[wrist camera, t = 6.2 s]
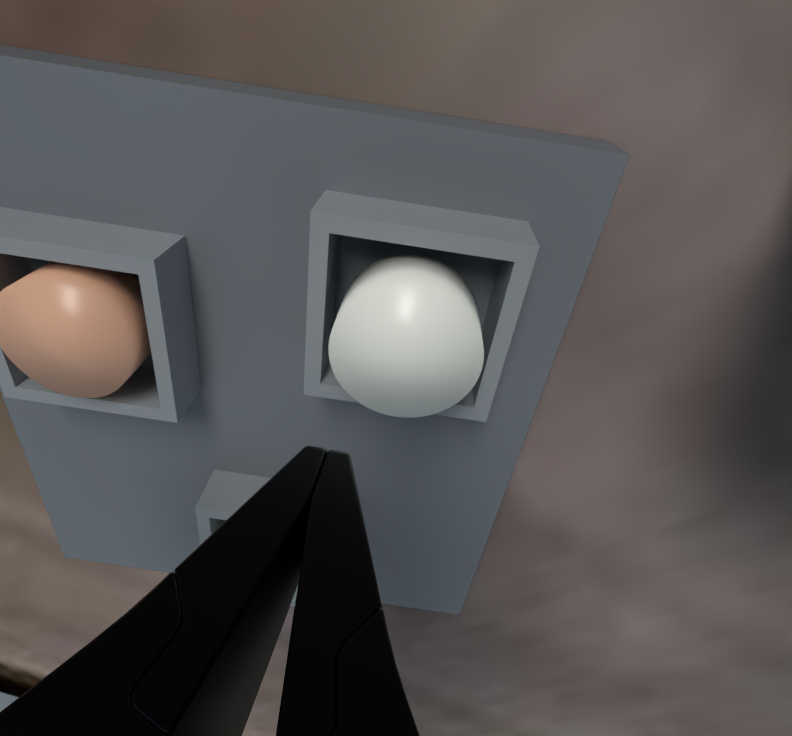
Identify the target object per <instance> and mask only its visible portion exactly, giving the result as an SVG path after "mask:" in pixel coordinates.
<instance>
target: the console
mask: <svg viewBox="0 0 792 736" xmlns="http://www.w3.org/2000/svg"><path fill="white" fill-rule="evenodd" d="M629 156H630V155H629V154H628V153H626V152H625V151H623V150H622V149H620V148H618V147H617V146H615V145H614V144H612V143H611V142H609V141H604V140H598V139H592V138H585V137H579V136H573V135H566V134H560V133H554V132H547V131H541V130H535V129H529V128H522V127H516V126H510V125H503V124H497V123H491V122H484V121H478V120H472V119H465V118H459V117H453V116H447V115H440V114H434V113H428V112H421V111H415V110H409V109H402V108H396V107H390V106H383V105H377V104H371V103H364V102H358V101H352V100H346V99H339V98H333V97H327V96H320V95H314V94H308V93H301V92H295V91H289V90H282V89H276V88H270V87H264V86H257V85H251V84H245V83H238V82H232V81H226V80H219V79H213V78H207V77H200V76H194V75H188V74H182V73H175V72H169V71H163V70H156V69H150V68H144V67H137V66H131V65H125V64H118V63H112V62H106V61H100V60H93V59H87V58H81V57H74V56H68V55H62V54H55V53H49V52H43V51H36V50H30V49H24V48H17V47H11V46H5V45H0V292H1V291H2V290H3V289H4V288H6V287H7V286H9V285H11V284H13V283H14V282H16V281H18V280H19V279H21V278H23V277H25V276H26V275H28V274H30V273H31V272H33V271H35V270H37V269H38V268H40V267H42V266H43V265H45V264H47V263H49V262H50V261H54V262H60V263H67V264H73V265H80V266H86V267H93V268H99V269H106V270H112V271H119V272H125V273H129V274H131V275H132V276H133V277H134V278H135V279H136V280H137V281H138V282H139V283H140V287H141V293H142V299H143V305H144V311H145V317H146V323H147V329H148V335H149V341H150V347H151V354H150V355H149V356H148V357H147V359H146V360H145V361H144V362H143V363H142V364H141V365H140V366H139V367H138V368H137V370H136V371H135V372H134V373H133V374H132V375H131V376H130V377H129V378H128V380H127V381H126V382H125V383H124V384H123V385H122V386H121V387H120V388H119V389H118V390H116V391H115V392H113V393H111V394H109V395H106V396H102V397H97V398H79V397H73V396H68V395H65V394H61V393H58V392H56V391H53V390H51V389H49V388H47V387H45V386H43V385H41V384H39V383H37V382H36V381H34V380H33V379H31V378H30V377H28V376H27V375H26V374H25V373H23V372H22V371H21V370H20V369H19V368H18V367H17V366H16V365H15V364H13V362H12V361H11V360H10V359H9V358H8V357H7V356H6V354H5V353H4V351H3V350H2V349H1V347H0V391H1V394H2V396H3V399H4V401H5V404H6V406H7V409H8V412H9V414H10V417H11V419H12V422H13V425H14V427H15V430H16V432H17V435H18V438H19V440H20V443H21V445H22V448H23V450H24V453H25V456H26V458H27V461H28V463H29V466H30V469H31V471H32V474H33V476H34V479H35V481H36V484H37V487H38V489H39V492H40V494H41V497H42V500H43V502H44V505H45V507H46V510H47V512H48V515H49V518H50V520H51V523H52V525H53V528H54V531H55V533H56V536H57V538H58V541H59V544H60V546H61V549H62V551H63V554H64V556H65V557H67V558H73V559H80V560H87V561H94V562H101V563H108V564H114V565H121V566H128V567H135V568H142V569H149V570H155V571H162V572H169V573H171V572H174V573H175V568H176V567H177V566H178V565H179V564H180V563H182V562H183V561H184V560H185V559H186V558H187V557H188V556H189V555H190V554H191V553H192V552H193V551H194V550H195V549H196V548H197V547H199V546H200V545H201V544H202V543H203V542H204V541H205V540H206V539H207V538H208V537H209V536H210V535H211V534H212V533H213V532H215V531H216V530H217V529H218V528H219V527H220V526H221V525H222V524H223V523H224V522H225V521H226V520H227V519H228V518H229V517H230V516H232V515H233V514H234V513H235V512H236V511H237V510H238V509H239V508H240V507H241V506H242V505H243V504H244V503H245V502H246V501H248V500H249V499H250V498H251V497H252V496H253V495H254V494H255V493H256V492H257V491H258V490H259V489H260V488H261V487H262V486H263V485H265V484H266V483H267V482H268V481H269V480H270V479H271V478H272V477H273V476H274V475H275V474H276V473H277V472H278V471H279V470H280V469H282V468H283V467H284V466H285V465H286V464H287V463H288V462H289V461H290V460H291V459H292V458H293V457H294V456H295V455H296V454H298V453H299V452H300V451H301V450H302V449H303V448H304V447H305V446H308V445H310V446H315V447H321V448H325V449H326V450H327V452H328V451H329V450H331V449H332V450H338V451H343V452H348V453H349V454H350V457H351V461H352V466H353V471H354V476H355V480H356V485H357V490H358V494H359V499H360V504H361V509H362V513H363V518H364V523H365V528H366V532H367V537H368V542H369V547H370V551H371V556H372V561H373V566H374V570H375V575H376V580H377V584H378V589H379V594H380V599H381V603H382V604H387V605H394V606H401V607H408V608H415V609H422V610H428V611H435V612H442V613H449V614H456V615H460V612H461V610H462V607H463V604H464V602H465V599H466V596H467V594H468V591H469V588H470V585H471V583H472V580H473V577H474V575H475V572H476V569H477V567H478V564H479V561H480V558H481V556H482V553H483V550H484V548H485V545H486V542H487V540H488V537H489V534H490V531H491V529H492V526H493V523H494V521H495V518H496V515H497V512H498V510H499V507H500V504H501V502H502V499H503V496H504V494H505V491H506V488H507V485H508V483H509V480H510V477H511V475H512V472H513V469H514V467H515V464H516V461H517V458H518V456H519V453H520V450H521V448H522V445H523V442H524V440H525V437H526V434H527V431H528V429H529V426H530V423H531V421H532V418H533V415H534V413H535V410H536V407H537V404H538V402H539V399H540V396H541V394H542V391H543V388H544V386H545V383H546V380H547V377H548V375H549V372H550V369H551V367H552V364H553V361H554V359H555V356H556V353H557V350H558V348H559V345H560V342H561V340H562V337H563V334H564V332H565V329H566V326H567V323H568V321H569V318H570V315H571V313H572V310H573V307H574V304H575V302H576V299H577V296H578V294H579V291H580V288H581V286H582V283H583V280H584V277H585V275H586V272H587V269H588V267H589V264H590V261H591V259H592V256H593V253H594V250H595V248H596V245H597V242H598V240H599V237H600V234H601V232H602V229H603V226H604V223H605V221H606V218H607V215H608V213H609V210H610V207H611V205H612V202H613V199H614V196H615V194H616V191H617V188H618V186H619V183H620V180H621V178H622V175H623V172H624V169H625V167H626V164H627V161H628V159H629ZM406 254H412V255H422V256H426V257H430V258H433V259H436V260H439V261H441V262H443V263H445V264H447V265H448V266H450V267H451V268H453V269H454V270H456V271H457V272H458V273H459V274H460V275H461V276H462V277H463V278H464V279H465V281H466V282H467V283H468V284H469V286H470V288H471V289H472V291H473V293H474V295H475V298H476V301H477V305H478V310H479V317H480V324H481V332H482V339H483V347H484V361H483V367H482V370H481V373H480V376H479V378H478V380H477V382H476V384H475V385H474V387H473V388H472V389H471V391H470V392H469V393H468V394H467V395H466V396H465V397H464V398H463V399H462V400H460V401H459V402H458V403H457V404H455V405H453V406H452V407H450V408H448V409H446V410H444V411H442V412H439V413H436V414H433V415H428V416H424V417H414V418H404V417H394V416H390V415H385V414H382V413H379V412H376V411H374V410H371V409H369V408H367V407H365V406H364V405H362V404H360V403H359V402H357V401H356V400H355V399H353V398H352V397H351V396H350V395H349V394H348V393H347V392H346V391H345V390H344V389H343V387H342V386H341V385H340V383H339V382H338V380H337V379H336V377H335V375H334V373H333V371H332V368H331V364H330V360H329V353H328V345H329V338H330V334H331V331H332V328H333V325H334V322H335V320H336V317H337V314H338V311H339V309H340V306H341V303H342V301H343V298H344V295H345V293H346V291H347V289H348V287H349V285H350V284H351V282H352V281H353V279H354V278H355V277H356V276H357V275H358V274H359V273H360V272H361V271H362V270H364V269H365V268H366V267H368V266H369V265H371V264H373V263H374V262H377V261H379V260H381V259H384V258H387V257H390V256H396V255H406ZM295 602H296V601H293V602H291V604H290V606H293V607H295Z"/></svg>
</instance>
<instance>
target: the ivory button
mask: <svg viewBox="0 0 792 736" xmlns="http://www.w3.org/2000/svg"><path fill="white" fill-rule="evenodd" d="M328 353H329V360H330V364H331V368H332V371H333V373H334V375H335V377H336V379H337V380H338V382H339V383H340V385H341V386H342V387H343V389H344V390H345V391H346V392H347V393H348V394H349V395H350V396H351V397H352V398H353V399H355V400H356V401H357V402H359V403H360V404H362V405H364V406H365V407H367V408H369V409H371V410H374V411H376V412H379V413H382V414H385V415H390V416H394V417H404V418H414V417H424V416H428V415H433V414H436V413H439V412H442V411H444V410H446V409H448V408H450V407H452V406H453V405H455V404H457V403H458V402H459V401H460V400H462V399H463V398H464V397H465V396H466V395H467V394H468V393H469V392H470V391H471V389H472V388H473V387H474V385H475V384H476V382H477V380H478V378H479V376H480V373H481V370H482V367H483V361H484V347H483V339H482V332H481V324H480V317H479V310H478V305H477V301H476V298H475V295H474V293H473V291H472V289H471V288H470V286H469V284H468V283H467V282H466V281H465V279H464V278H463V277H462V276H461V275H460V274H459V273H458V272H457V271H456V270H454V269H453V268H451V267H450V266H448V265H447V264H445V263H443V262H441V261H439V260H436V259H433V258H430V257H426V256H422V255H412V254H406V255H396V256H390V257H387V258H384V259H381V260H379V261H377V262H374V263H373V264H371V265H369V266H368V267H366V268H365V269H364V270H362V271H361V272H360V273H359V274H358V275H357V276H356V277H355V278H354V279H353V281H352V282H351V284H350V285H349V287H348V289H347V291H346V293H345V295H344V298H343V301H342V303H341V306H340V309H339V311H338V314H337V317H336V320H335V322H334V325H333V328H332V331H331V334H330V338H329V345H328Z"/></svg>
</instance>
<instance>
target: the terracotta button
mask: <svg viewBox="0 0 792 736" xmlns="http://www.w3.org/2000/svg"><path fill="white" fill-rule="evenodd" d="M0 347H1V349H2V350H3V351H4V353H5V354H6V356H7V357H8V358H9V359H10V360H11V361H12V362H13V364H15V365H16V366H17V367H18V368H19V369H20V370H21V371H22V372H23V373H25V374H26V375H27V376H28V377H30V378H31V379H33V380H34V381H36V382H37V383H39V384H41V385H43V386H45V387H47V388H49V389H51V390H53V391H56V392H58V393H61V394H65V395H68V396H73V397H79V398H97V397H102V396H106V395H109V394H111V393H113V392H115V391H116V390H118V389H119V388H120V387H121V386H122V385H123V384H124V383H125V382H126V381H127V380H128V378H129V377H130V376H131V375H132V374H133V373H134V372H135V371H136V370H137V368H138V367H139V366H140V365H141V364H142V363H143V362H144V361H145V360H146V359H147V357H148V356H149V355H150V354H151V347H150V341H149V335H148V329H147V323H146V317H145V311H144V305H143V299H142V293H141V287H140V283H139V282H138V281H137V280H136V279H135V278H134V277H133V276H132V275H131V274H129V273H125V272H119V271H112V270H106V269H99V268H93V267H86V266H80V265H73V264H67V263H60V262H54V261H50V262H49V263H47V264H45V265H43V266H42V267H40V268H38V269H37V270H35V271H33V272H31V273H30V274H28V275H26V276H25V277H23V278H21V279H19V280H18V281H16V282H14V283H13V284H11V285H9V286H7V287H6V288H4V289H3V290H2V291H1V292H0Z"/></svg>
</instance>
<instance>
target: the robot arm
mask: <svg viewBox="0 0 792 736" xmlns="http://www.w3.org/2000/svg"><path fill="white" fill-rule="evenodd" d="M297 586H298V588H297ZM296 588H297V595H296V602H295V609H294V616H293V622H292V629H291V636H290V643H289V650H288V657H287V664H286V671H285V677H284V684H283V691H282V698H281V705H280V712H279V719H278V725H277V732H276V736H419V733H418V730H417V727H416V724H415V721H414V718H413V716H412V713H411V710H410V707H409V704H408V701H407V698H406V695H405V692H404V689H403V686H402V682H401V679H400V676H399V673H398V669H397V666H396V663H395V659H394V655H393V651H392V647H391V643H390V639H389V635H388V631H387V626H386V621H385V616H384V612H383V610H382V603H381V599H380V594H379V589H378V584H377V580H376V575H375V570H374V566H373V561H372V556H371V551H370V547H369V542H368V537H367V532H366V528H365V523H364V518H363V513H362V509H361V504H360V499H359V494H358V490H357V485H356V480H355V476H354V471H353V466H352V461H351V457H350V454H349V453H348V452H343V451H338V450H332V449H331V450H329V451H328V452H327V450H326V449H325V448H321V447H315V446H310V445H308V446H305V447H304V448H303V449H302V450H301V451H300V452H299V453H298V454H296V455H295V456H294V457H293V458H292V459H291V460H290V461H289V462H288V463H287V464H286V465H285V466H284V467H283V468H282V469H280V470H279V471H278V472H277V473H276V474H275V475H274V476H273V477H272V478H271V479H270V480H269V481H268V482H267V483H266V484H265V485H263V486H262V487H261V488H260V489H259V490H258V491H257V492H256V493H255V494H254V495H253V496H252V497H251V498H250V499H249V500H248V501H246V502H245V503H244V504H243V505H242V506H241V507H240V508H239V509H238V510H237V511H236V512H235V513H234V514H233V515H232V516H230V517H229V518H228V519H227V520H226V521H225V522H224V523H223V524H222V525H221V526H220V527H219V528H218V529H217V530H216V531H215V532H213V533H212V534H211V535H210V536H209V537H208V538H207V539H206V540H205V541H204V542H203V543H202V544H201V545H200V546H199V547H197V548H196V549H195V550H194V551H193V552H192V553H191V554H190V555H189V556H188V557H187V558H186V559H185V560H184V561H183V562H182V563H180V564H179V565H178V566H177V567H176V568H175V573H174V572H171V573H169V574H168V575H167V576H166V577H165V578H164V579H163V580H162V581H161V582H160V583H159V584H158V585H157V586H156V587H155V588H154V589H153V590H151V591H150V592H149V593H148V594H147V595H146V596H145V597H144V598H143V599H141V600H140V601H139V602H138V603H137V604H136V605H135V606H134V607H132V608H131V609H130V610H129V611H128V612H127V613H126V614H125V615H123V616H122V617H121V618H120V619H118V620H117V621H116V622H115V623H113V624H112V625H111V626H110V627H108V628H107V629H106V630H105V631H104V632H102V633H101V634H100V635H99V636H97V637H96V638H95V639H94V640H92V641H91V642H90V643H89V644H87V645H86V646H85V647H83V648H82V649H81V650H80V651H78V652H77V653H76V654H74V655H73V656H72V657H71V658H69V659H68V660H67V661H65V662H64V663H63V664H62V665H60V666H59V667H58V668H56V669H55V670H54V671H53V672H51V673H50V674H49V675H47V676H46V677H45V678H44V679H42V680H41V681H40V682H38V683H37V684H36V685H35V686H33V687H32V688H31V689H29V690H28V691H27V692H26V693H24V694H23V695H22V696H20V697H19V698H18V699H17V700H15V701H14V702H13V703H11V704H10V705H9V706H8V707H6V708H5V709H4V710H2V711H1V712H0V736H242V733H243V731H244V728H245V725H246V723H247V720H248V717H249V715H250V712H251V709H252V706H253V704H254V701H255V698H256V696H257V693H258V690H259V688H260V685H261V682H262V680H263V677H264V674H265V672H266V669H267V666H268V664H269V661H270V658H271V655H272V653H273V650H274V647H275V645H276V642H277V639H278V637H279V634H280V631H281V629H282V626H283V623H284V621H285V618H286V615H287V612H288V610H289V607H290V604H291V602H292V599H293V596H294V594H295V591H296Z"/></svg>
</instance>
